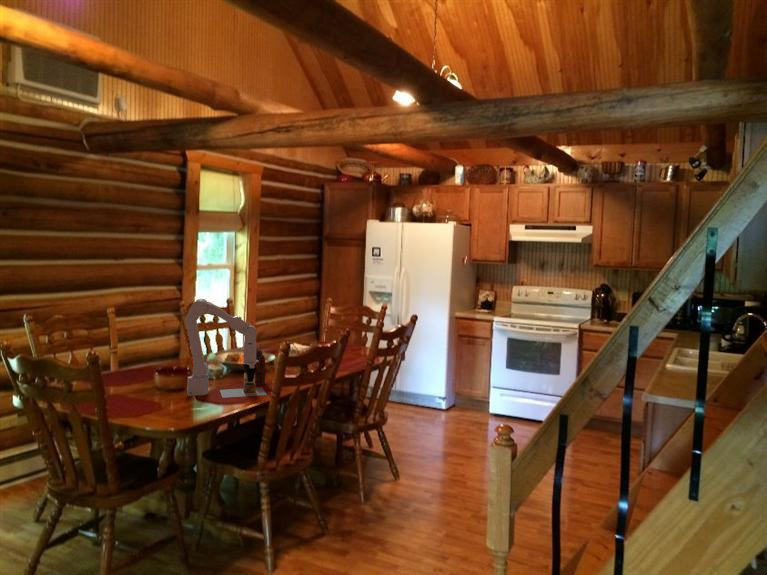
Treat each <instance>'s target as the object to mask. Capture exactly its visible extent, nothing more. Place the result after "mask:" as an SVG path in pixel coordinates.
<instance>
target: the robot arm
mask: <svg viewBox="0 0 767 575" xmlns="http://www.w3.org/2000/svg"><path fill="white" fill-rule="evenodd" d="M205 313H206V315H214V316H216V317H218V318H220V319H221V320H223V321H225V322H226V323H228V325H229V328H231V329H233V330H234V331H236V332H238V333H239V334H241V335H243V336H244V342H243V362H242V363H243V364H242V366H243V368H244V371H245V372H244V373H247V378H248V382H253V379H254V374H255V372H256V370H257V367H254V366H255V364H256V363H257V362H259V360H256V348H257V335H258V332H257V328H256V326H254V325H253V324H251V323H250V322H246V321H245V320H244V319H242V317H241V316H236V315H235V316H232V315H231V314H230V313H227V312H226V311H225V310H223V309H222V308H220V307H218V305H216V304H214V303H213V302H210V301H208V300H206V299H205V298H198V299H196V301H194V303H192V305H191V306H190V308H189V310H188V312H187V315H186V316H185V326H186V329H187V334H188V340H189V345H190V349H191V355H192V363H193V367H192V370H191V371H192V375H191V376H187V387H186V393H187V397H190V396H191V397H192V396H205V395H208V394H209V374H208V369H209V364H208V361H206V359H205V355H204V351H203V347H202V342H201V336H200V332H199V326H198V320H199V319H200V317H202V316H203V315H204V314H205Z"/></svg>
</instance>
